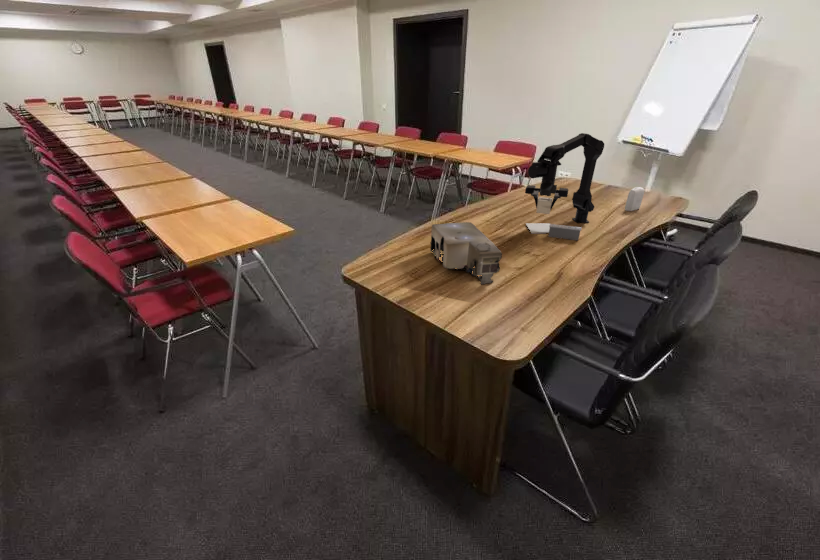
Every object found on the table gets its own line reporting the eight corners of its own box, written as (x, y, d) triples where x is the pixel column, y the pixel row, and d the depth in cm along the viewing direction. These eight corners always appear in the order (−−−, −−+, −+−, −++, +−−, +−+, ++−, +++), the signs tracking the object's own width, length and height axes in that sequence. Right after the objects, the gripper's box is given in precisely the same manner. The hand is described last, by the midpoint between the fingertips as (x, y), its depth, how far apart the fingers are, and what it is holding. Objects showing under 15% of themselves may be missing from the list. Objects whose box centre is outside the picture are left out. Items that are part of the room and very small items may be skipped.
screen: (548, 234, 179) (549, 223, 177) (579, 238, 174) (581, 227, 172) (547, 236, 177) (549, 225, 174) (578, 240, 172) (581, 229, 170)
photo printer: (633, 206, 216) (639, 185, 210) (640, 208, 213) (647, 186, 207) (623, 210, 211) (628, 187, 205) (630, 212, 208) (636, 189, 202)
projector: (451, 288, 134) (454, 253, 128) (429, 252, 163) (430, 222, 157) (499, 284, 138) (504, 250, 131) (469, 250, 166) (473, 220, 160)
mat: (525, 224, 192) (525, 223, 191) (549, 224, 191) (549, 223, 191) (530, 233, 181) (531, 231, 181) (556, 233, 180) (556, 231, 180)
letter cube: (537, 209, 185) (539, 196, 182) (550, 210, 183) (552, 197, 180) (536, 212, 180) (538, 199, 178) (549, 214, 178) (551, 201, 175)
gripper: (525, 178, 171) (521, 211, 178) (570, 181, 164) (563, 216, 172) (528, 172, 180) (524, 205, 187) (571, 175, 173) (564, 209, 181)
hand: (543, 208), depth 181 cm, fingers closed on letter cube, 6 cm apart
